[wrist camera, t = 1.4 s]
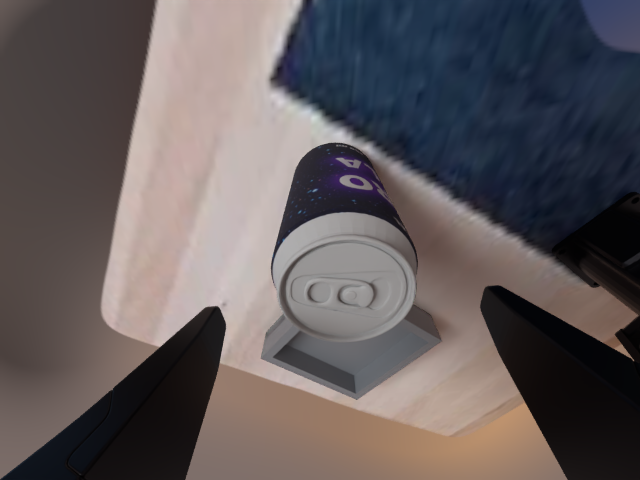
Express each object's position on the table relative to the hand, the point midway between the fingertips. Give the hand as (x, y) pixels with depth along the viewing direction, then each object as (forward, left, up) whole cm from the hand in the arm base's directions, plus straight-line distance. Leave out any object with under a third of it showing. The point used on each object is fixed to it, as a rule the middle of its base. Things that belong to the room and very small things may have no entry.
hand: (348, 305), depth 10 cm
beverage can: (0, 0, -13) cm, 13 cm away
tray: (-10, +11, -12) cm, 19 cm away
